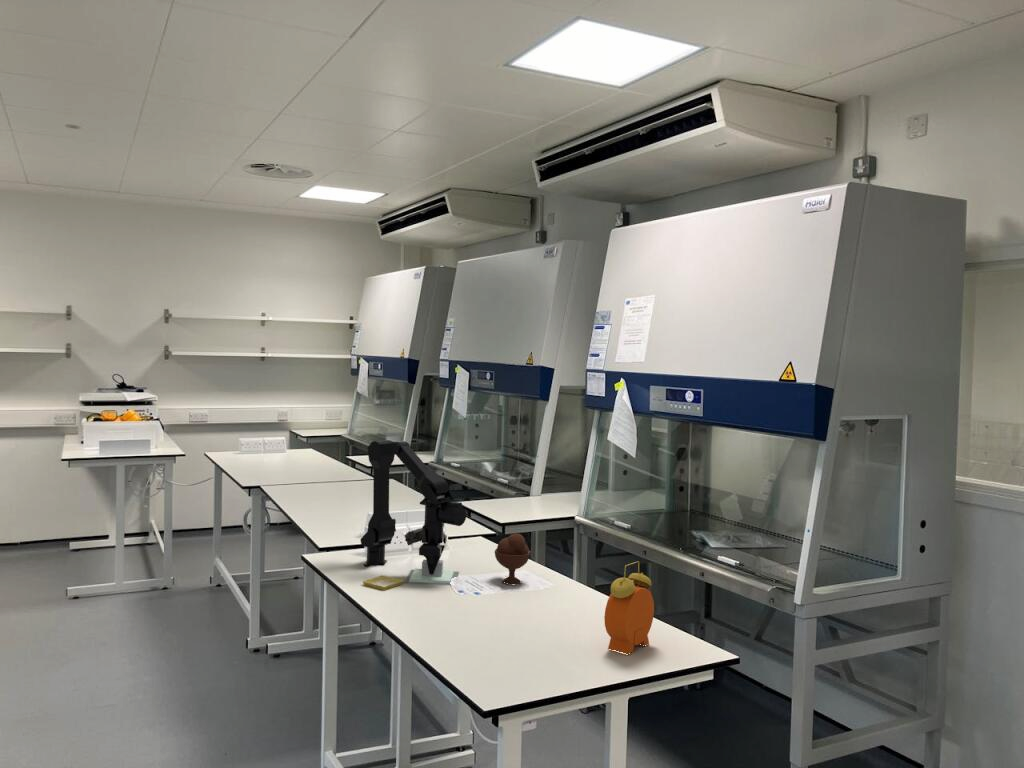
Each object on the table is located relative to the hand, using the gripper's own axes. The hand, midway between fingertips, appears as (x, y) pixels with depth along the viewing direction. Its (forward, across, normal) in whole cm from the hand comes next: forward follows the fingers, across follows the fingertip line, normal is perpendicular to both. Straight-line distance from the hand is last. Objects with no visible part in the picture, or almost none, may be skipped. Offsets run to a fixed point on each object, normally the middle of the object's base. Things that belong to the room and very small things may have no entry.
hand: (432, 572), depth 238 cm
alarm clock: (+2, +50, +53) cm, 73 cm away
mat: (+2, 0, 0) cm, 2 cm away
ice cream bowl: (+2, 0, +24) cm, 24 cm away
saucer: (+3, +10, -13) cm, 17 cm away
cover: (+2, 0, 0) cm, 2 cm away
